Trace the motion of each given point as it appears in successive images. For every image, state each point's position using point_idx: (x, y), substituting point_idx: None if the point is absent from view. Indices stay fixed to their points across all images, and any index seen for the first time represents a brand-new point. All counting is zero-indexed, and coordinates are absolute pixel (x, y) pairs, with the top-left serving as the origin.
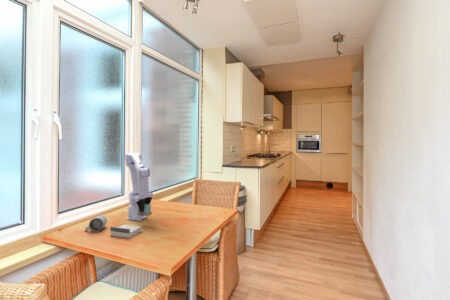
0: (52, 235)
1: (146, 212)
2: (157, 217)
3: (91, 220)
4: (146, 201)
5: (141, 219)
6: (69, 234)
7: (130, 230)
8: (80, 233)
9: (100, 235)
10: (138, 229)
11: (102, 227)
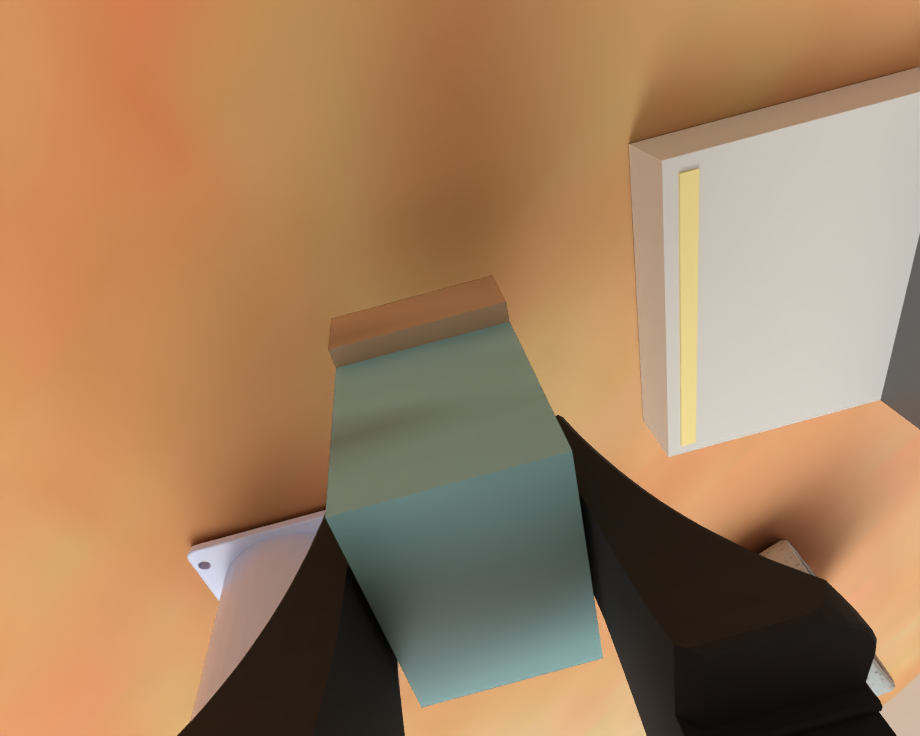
0: (912, 669)
1: (516, 343)
2: (67, 434)
3: (888, 674)
4: (374, 714)
5: (317, 513)
6: (882, 622)
7: (858, 170)
8: (853, 592)
9: (871, 441)
10: (725, 136)
11: (791, 551)
